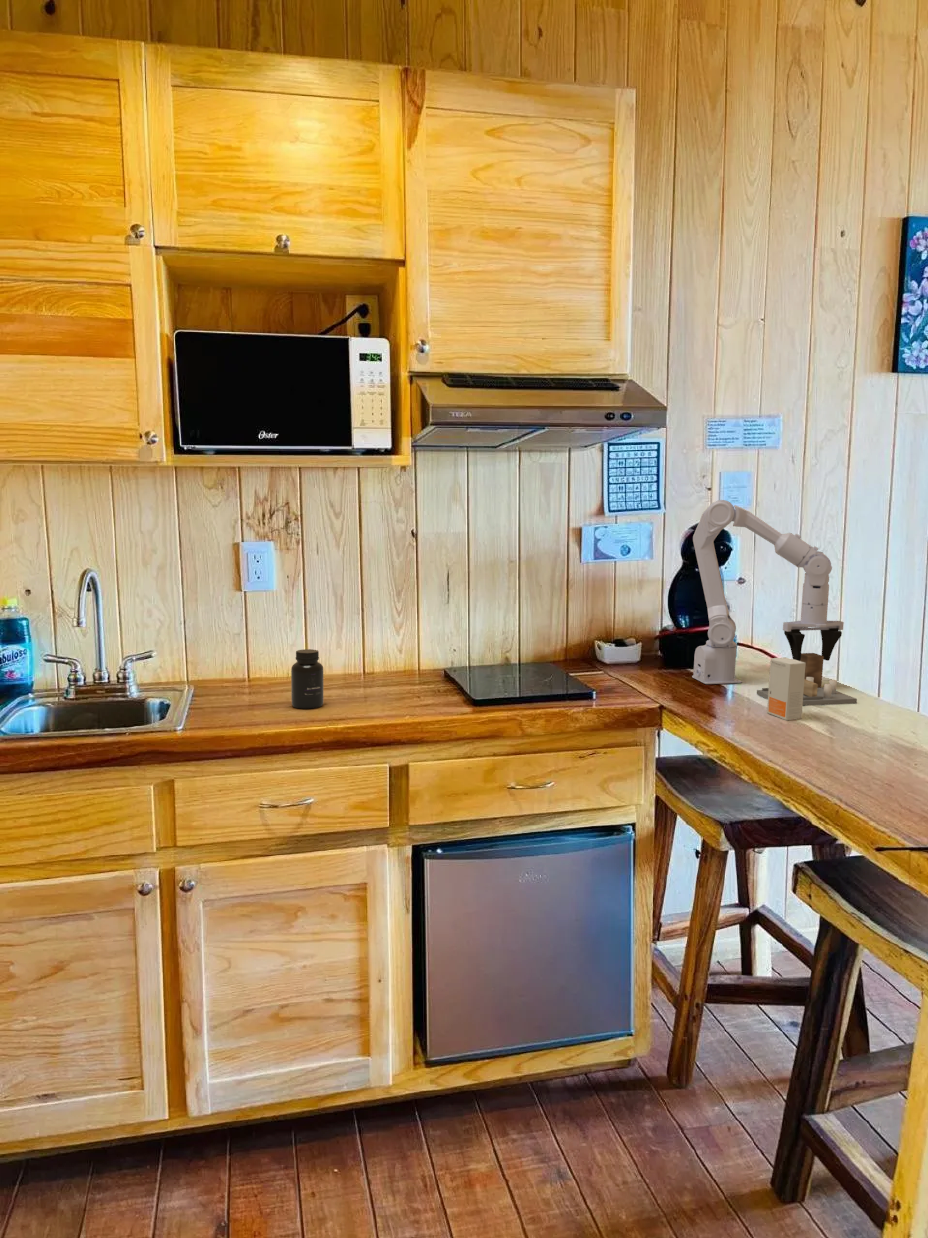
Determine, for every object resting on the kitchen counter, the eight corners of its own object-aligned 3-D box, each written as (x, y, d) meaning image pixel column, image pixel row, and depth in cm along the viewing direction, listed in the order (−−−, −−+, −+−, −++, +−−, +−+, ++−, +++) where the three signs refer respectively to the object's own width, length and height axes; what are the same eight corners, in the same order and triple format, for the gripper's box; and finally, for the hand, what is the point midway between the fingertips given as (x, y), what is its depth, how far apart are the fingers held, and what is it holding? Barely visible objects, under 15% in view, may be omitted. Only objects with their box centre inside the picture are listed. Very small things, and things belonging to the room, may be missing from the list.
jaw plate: (811, 697, 192) (812, 684, 191) (792, 689, 199) (792, 676, 199) (816, 697, 192) (817, 684, 191) (796, 689, 200) (797, 676, 199)
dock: (782, 706, 189) (783, 688, 188) (756, 694, 200) (757, 677, 199) (856, 703, 192) (857, 685, 192) (827, 691, 203) (828, 674, 202)
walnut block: (805, 689, 205) (808, 656, 203) (796, 685, 208) (798, 653, 207) (821, 689, 205) (823, 656, 204) (811, 685, 209) (813, 652, 208)
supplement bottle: (313, 711, 182) (312, 655, 180) (285, 707, 185) (284, 652, 183) (329, 703, 189) (328, 649, 187) (302, 700, 191) (301, 647, 189)
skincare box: (765, 713, 183) (769, 658, 181) (781, 711, 185) (785, 656, 183) (786, 721, 177) (790, 663, 176) (802, 719, 179) (806, 662, 177)
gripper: (796, 606, 199) (792, 664, 201) (853, 605, 201) (848, 662, 203) (779, 602, 205) (776, 658, 208) (834, 601, 208) (831, 656, 210)
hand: (811, 660), depth 206 cm, fingers open, 7 cm apart
